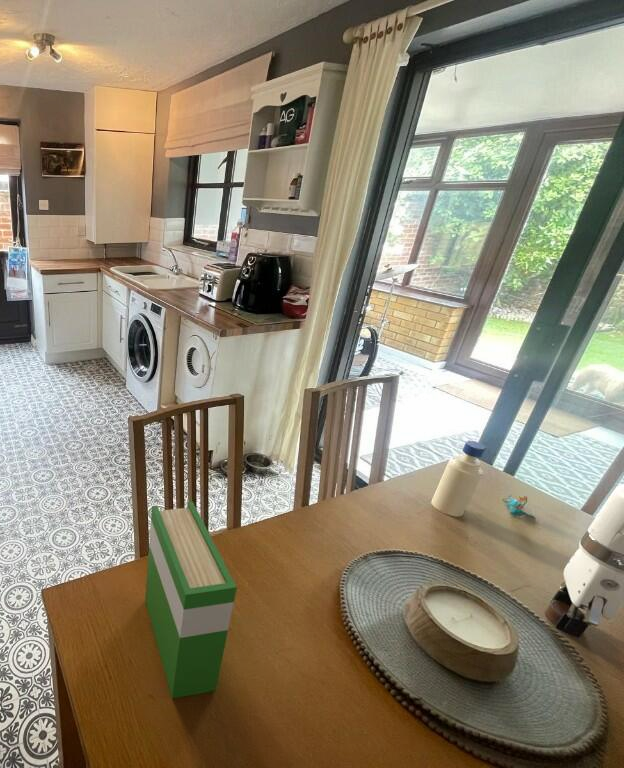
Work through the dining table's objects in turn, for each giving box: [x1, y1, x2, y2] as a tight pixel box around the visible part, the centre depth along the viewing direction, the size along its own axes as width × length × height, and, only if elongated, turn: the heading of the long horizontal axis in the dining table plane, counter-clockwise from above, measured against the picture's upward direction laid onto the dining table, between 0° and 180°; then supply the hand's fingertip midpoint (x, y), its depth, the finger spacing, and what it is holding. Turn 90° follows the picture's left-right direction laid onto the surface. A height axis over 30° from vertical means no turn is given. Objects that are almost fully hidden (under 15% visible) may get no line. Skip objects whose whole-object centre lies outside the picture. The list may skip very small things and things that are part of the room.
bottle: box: [431, 440, 487, 517], centre depth 103 cm, size 7×7×19 cm
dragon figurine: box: [505, 493, 536, 519], centre depth 107 cm, size 6×7×8 cm
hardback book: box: [144, 501, 238, 700], centre depth 69 cm, size 18×7×24 cm, turn 10°
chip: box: [544, 600, 585, 626], centre depth 78 cm, size 5×5×3 cm
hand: (563, 619), depth 78 cm, fingers closed on chip, 5 cm apart
